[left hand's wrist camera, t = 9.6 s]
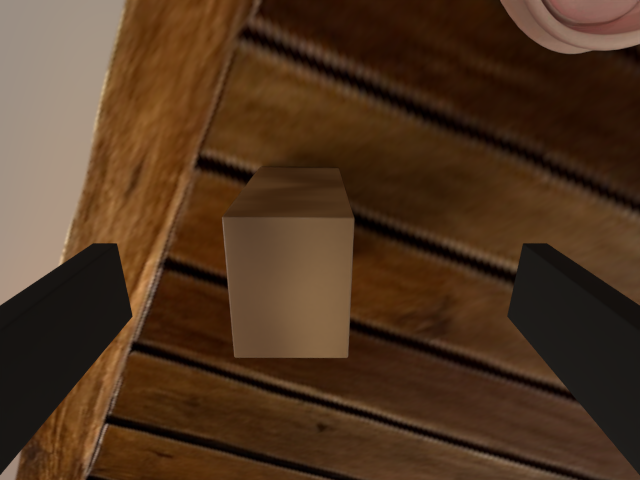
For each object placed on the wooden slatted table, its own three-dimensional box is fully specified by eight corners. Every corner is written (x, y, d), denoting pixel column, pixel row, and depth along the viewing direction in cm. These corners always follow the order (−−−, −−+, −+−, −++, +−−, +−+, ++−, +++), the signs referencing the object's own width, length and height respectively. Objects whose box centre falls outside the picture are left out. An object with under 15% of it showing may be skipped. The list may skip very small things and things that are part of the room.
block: (338, 167, 26) (354, 217, 15) (336, 261, 28) (348, 358, 18) (259, 167, 26) (221, 216, 15) (263, 260, 28) (234, 358, 18)
